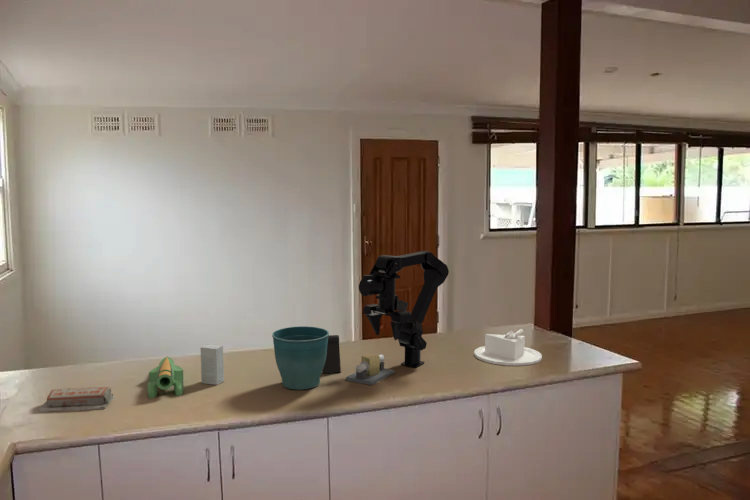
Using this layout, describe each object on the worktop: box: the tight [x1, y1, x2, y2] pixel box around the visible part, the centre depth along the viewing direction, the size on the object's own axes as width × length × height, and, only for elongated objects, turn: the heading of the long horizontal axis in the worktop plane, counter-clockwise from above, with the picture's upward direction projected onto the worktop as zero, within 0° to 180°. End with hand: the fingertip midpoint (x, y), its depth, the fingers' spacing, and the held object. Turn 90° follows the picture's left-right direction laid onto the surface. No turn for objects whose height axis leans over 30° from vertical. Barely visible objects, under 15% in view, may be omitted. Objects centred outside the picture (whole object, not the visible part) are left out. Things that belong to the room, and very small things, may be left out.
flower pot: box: [271, 325, 330, 391], centre depth 197 cm, size 18×18×17 cm
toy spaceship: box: [147, 356, 185, 399], centre depth 201 cm, size 32×10×7 cm, turn 17°
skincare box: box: [199, 344, 225, 386], centre depth 199 cm, size 6×4×12 cm
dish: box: [473, 328, 543, 367], centre depth 231 cm, size 25×25×11 cm
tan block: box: [361, 353, 380, 376], centre depth 206 cm, size 5×4×6 cm
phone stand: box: [322, 334, 342, 375], centre depth 213 cm, size 9×6×12 cm, turn 12°
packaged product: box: [38, 386, 115, 413], centre depth 180 cm, size 18×5×10 cm
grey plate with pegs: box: [345, 354, 395, 386], centre depth 206 cm, size 15×10×6 cm, turn 150°
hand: (386, 337), depth 211 cm, fingers open, 9 cm apart
